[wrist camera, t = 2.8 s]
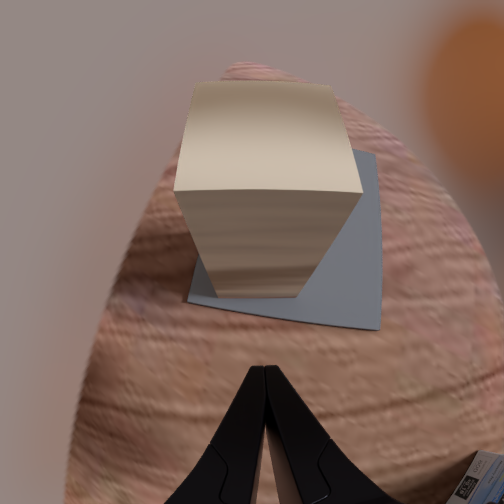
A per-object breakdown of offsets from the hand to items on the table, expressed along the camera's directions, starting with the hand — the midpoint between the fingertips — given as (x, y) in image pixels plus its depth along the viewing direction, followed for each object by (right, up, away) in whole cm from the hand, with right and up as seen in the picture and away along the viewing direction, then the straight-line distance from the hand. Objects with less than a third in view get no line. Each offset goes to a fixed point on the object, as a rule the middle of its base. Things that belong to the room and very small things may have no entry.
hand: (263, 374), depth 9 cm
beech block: (0, +3, +11) cm, 11 cm away
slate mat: (+3, +7, +12) cm, 14 cm away
